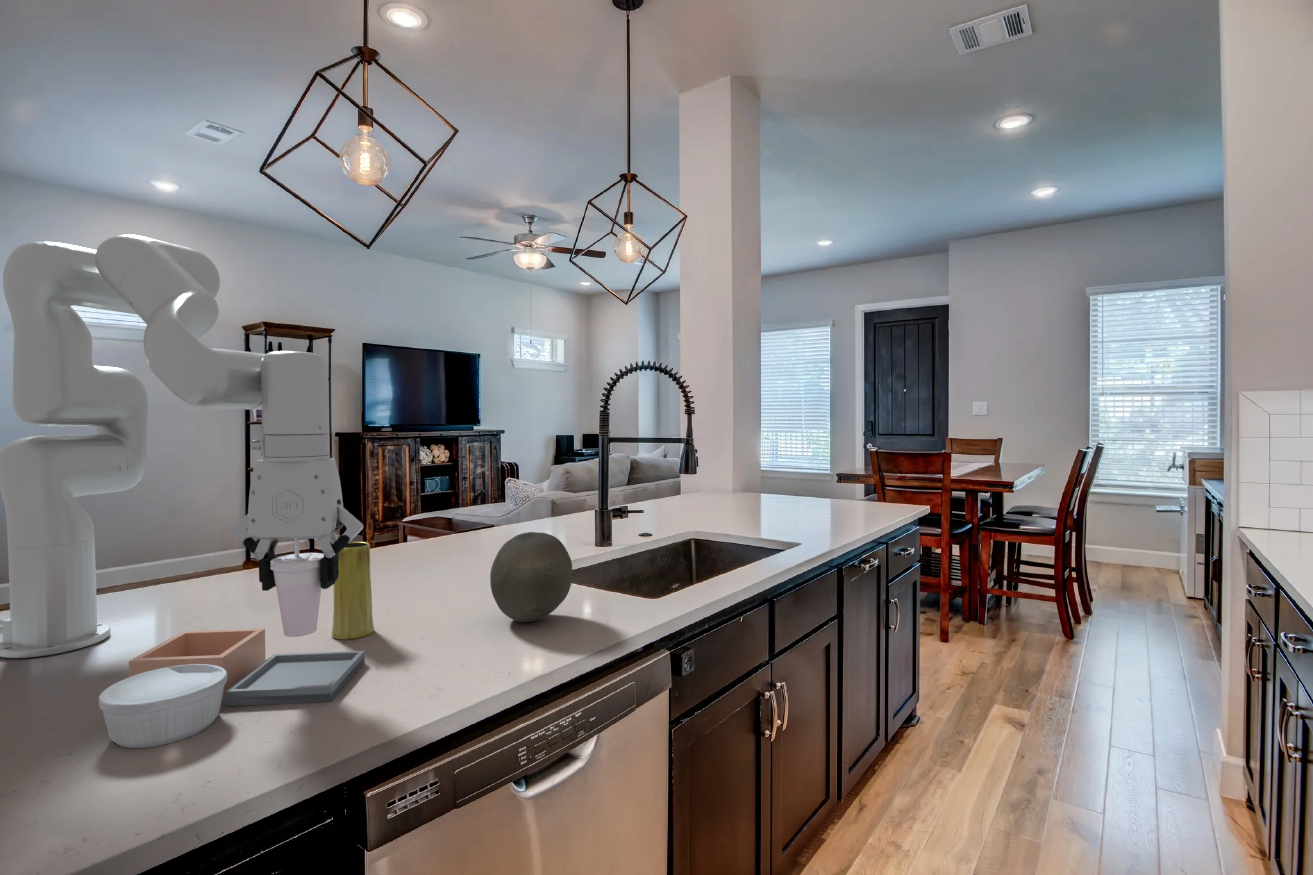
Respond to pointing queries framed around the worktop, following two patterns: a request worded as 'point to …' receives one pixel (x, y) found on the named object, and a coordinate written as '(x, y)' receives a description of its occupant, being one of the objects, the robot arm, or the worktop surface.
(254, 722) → the worktop surface
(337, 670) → the tray
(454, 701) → the worktop surface
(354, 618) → the vase
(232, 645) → the holder
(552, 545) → the dark grey ball
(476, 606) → the worktop surface
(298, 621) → the smoothie
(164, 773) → the worktop surface
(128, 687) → the ramekin
